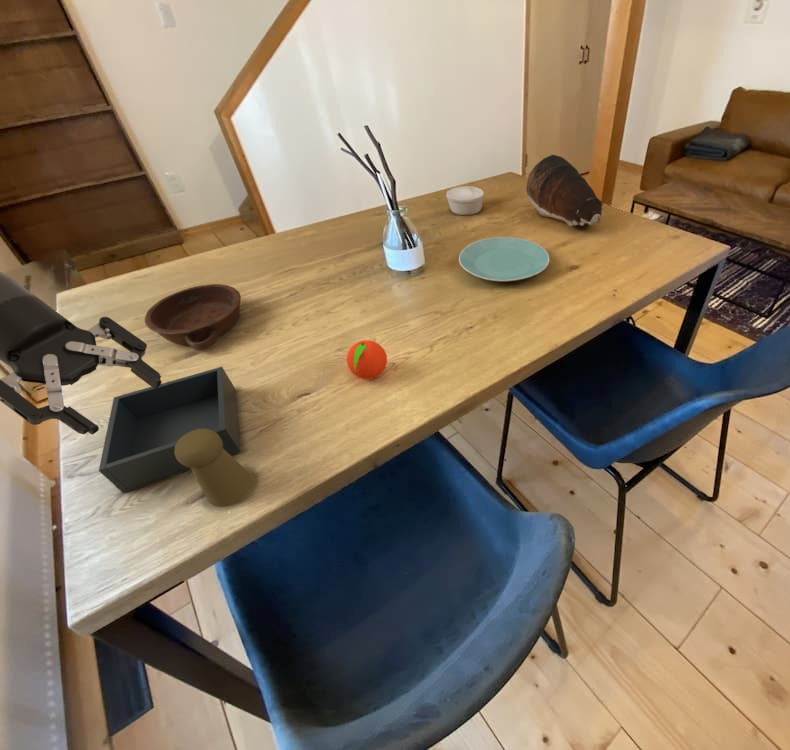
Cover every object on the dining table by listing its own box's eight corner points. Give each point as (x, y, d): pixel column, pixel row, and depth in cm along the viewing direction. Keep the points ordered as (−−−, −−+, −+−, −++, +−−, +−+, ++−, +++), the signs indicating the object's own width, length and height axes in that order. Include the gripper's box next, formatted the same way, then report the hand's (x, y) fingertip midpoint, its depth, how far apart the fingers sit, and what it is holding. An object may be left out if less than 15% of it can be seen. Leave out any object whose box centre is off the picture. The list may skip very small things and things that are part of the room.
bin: (123, 493, 62) (98, 470, 58) (133, 420, 72) (113, 397, 69) (241, 452, 67) (225, 429, 63) (235, 389, 77) (222, 366, 74)
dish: (239, 290, 102) (230, 271, 99) (259, 337, 89) (249, 317, 85) (154, 314, 95) (140, 295, 92) (161, 370, 82) (146, 349, 78)
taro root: (584, 199, 108) (531, 153, 121) (565, 252, 120) (519, 205, 132) (627, 195, 115) (572, 152, 128) (605, 245, 127) (557, 201, 139)
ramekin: (491, 209, 135) (491, 191, 131) (466, 220, 129) (465, 202, 125) (466, 200, 140) (465, 183, 137) (440, 210, 134) (438, 193, 131)
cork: (241, 507, 60) (203, 459, 53) (198, 506, 60) (154, 458, 53) (260, 470, 65) (227, 421, 57) (220, 470, 65) (182, 421, 57)
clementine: (380, 393, 76) (371, 362, 71) (343, 389, 77) (331, 358, 72) (395, 363, 82) (388, 333, 77) (361, 359, 83) (351, 329, 78)
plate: (539, 243, 117) (540, 233, 115) (557, 286, 101) (558, 275, 99) (457, 249, 115) (456, 239, 114) (462, 294, 99) (461, 283, 97)
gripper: (-83, 337, 44) (71, 440, 48) (64, 270, 53) (181, 361, 58) (-66, 365, 49) (72, 456, 53) (66, 299, 58) (173, 381, 63)
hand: (129, 406), depth 56 cm, fingers open, 8 cm apart
